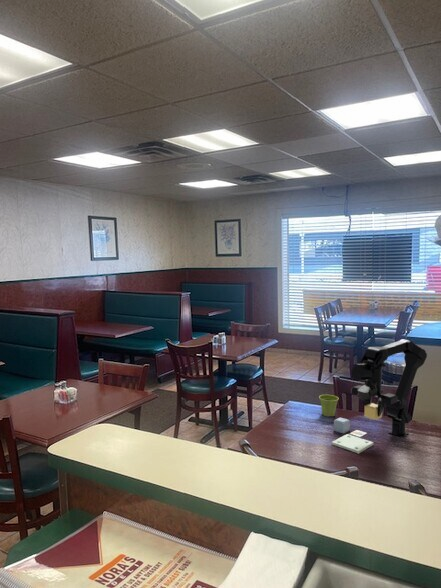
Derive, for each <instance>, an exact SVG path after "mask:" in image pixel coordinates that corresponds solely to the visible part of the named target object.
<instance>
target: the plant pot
mask: <svg viewBox="0 0 441 588" xmlns="http://www.w3.org/2000/svg"><path fill="white" fill-rule="evenodd" d="M318 398H319V402H320V408H321V415H323V416H324V417H328V418H329V417H335V415H336V410H337V404H338V401H339V400H340V398H339V397H338V396H337V395H334V394H333V395H332V394H320V395H318Z"/></svg>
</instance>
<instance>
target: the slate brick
mask: <svg viewBox="0 0 441 588" xmlns="http://www.w3.org/2000/svg"><path fill="white" fill-rule="evenodd" d="M350 424H351V420H349V419H347V418H343V417H338V418H336V419H334V420H333V431H334V432H337V433H340V434H344V435H345V434H346V433H348V432H349V431H351V430H350V429H351V428H350V427H351V425H350Z"/></svg>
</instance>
